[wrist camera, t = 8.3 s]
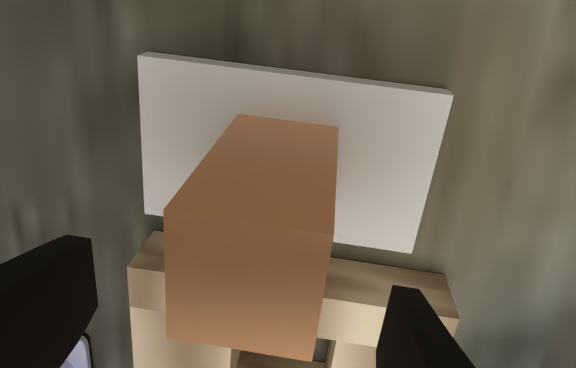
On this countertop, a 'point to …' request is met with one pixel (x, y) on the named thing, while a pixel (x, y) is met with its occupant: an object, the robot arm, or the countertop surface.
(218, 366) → the beige holed block
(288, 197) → the plug
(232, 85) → the mat
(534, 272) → the countertop surface
